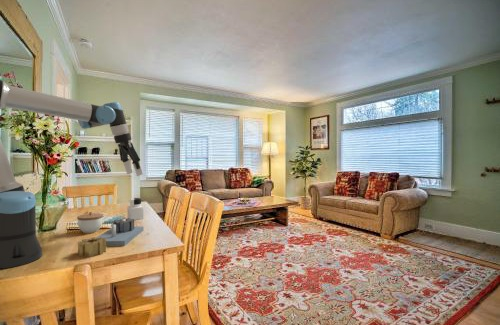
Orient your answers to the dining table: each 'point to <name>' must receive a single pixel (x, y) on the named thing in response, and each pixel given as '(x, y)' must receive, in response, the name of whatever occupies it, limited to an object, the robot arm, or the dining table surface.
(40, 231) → the dining table surface
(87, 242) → the bronze gear
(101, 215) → the lidded jar
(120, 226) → the dark gear
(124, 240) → the gear board
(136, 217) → the medicine bottle
